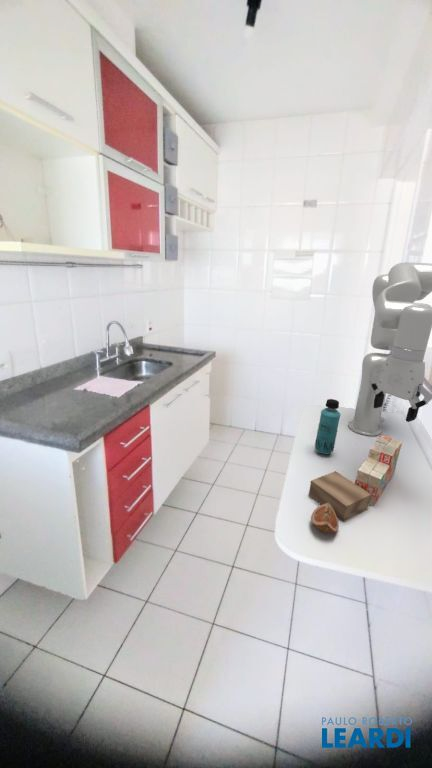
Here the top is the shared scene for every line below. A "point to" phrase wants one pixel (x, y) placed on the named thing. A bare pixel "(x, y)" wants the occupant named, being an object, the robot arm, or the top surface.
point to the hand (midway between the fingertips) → (393, 413)
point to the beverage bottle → (328, 427)
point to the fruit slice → (325, 518)
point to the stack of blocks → (379, 467)
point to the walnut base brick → (340, 495)
